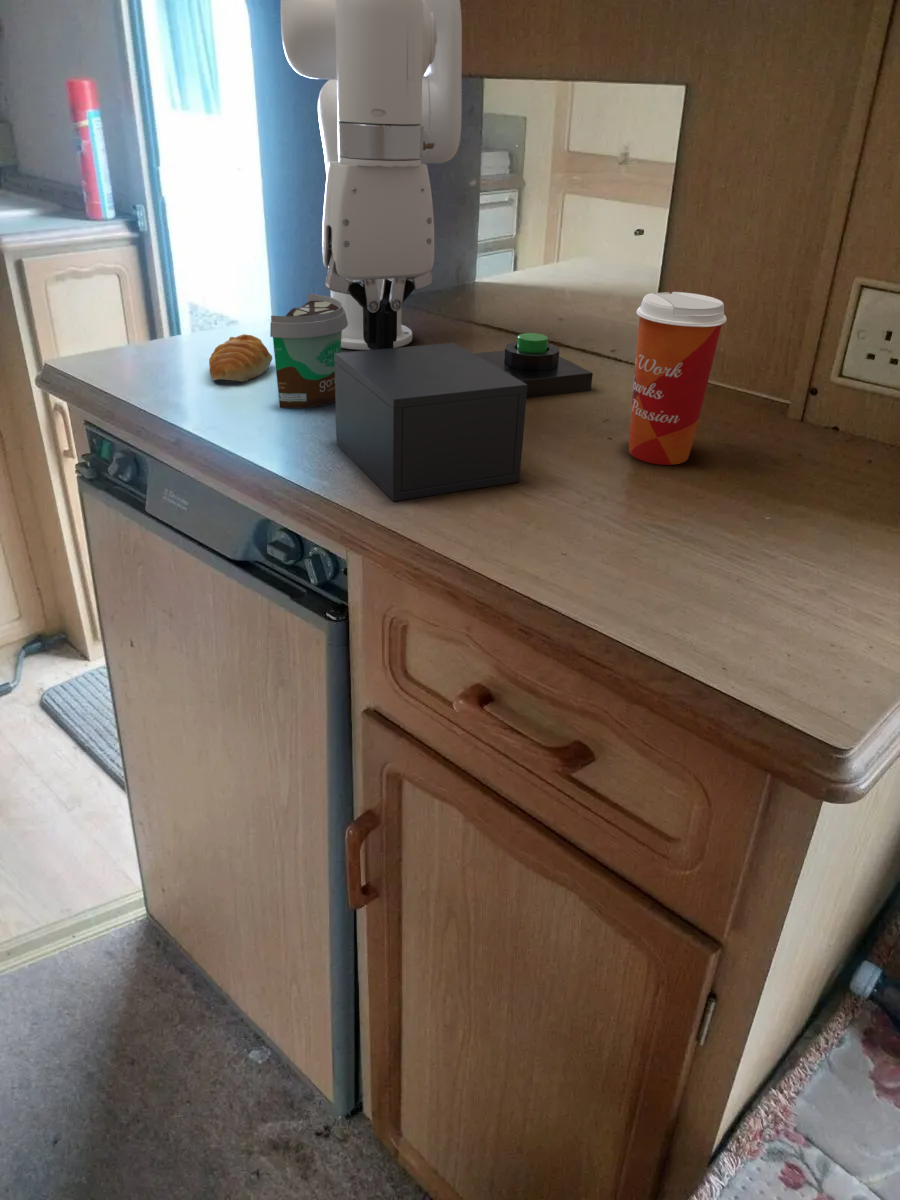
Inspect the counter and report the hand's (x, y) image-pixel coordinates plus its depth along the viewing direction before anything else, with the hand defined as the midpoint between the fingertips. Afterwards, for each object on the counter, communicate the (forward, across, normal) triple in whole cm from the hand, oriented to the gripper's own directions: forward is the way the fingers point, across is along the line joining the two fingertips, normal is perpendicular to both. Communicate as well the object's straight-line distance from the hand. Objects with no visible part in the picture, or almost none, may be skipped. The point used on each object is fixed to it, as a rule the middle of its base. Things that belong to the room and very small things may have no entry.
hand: (380, 349), depth 92 cm
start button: (+4, -23, -9) cm, 25 cm away
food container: (+8, +3, -11) cm, 14 cm away
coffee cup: (+8, -23, +17) cm, 30 cm away
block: (+8, -23, -9) cm, 26 cm away
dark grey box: (+8, 0, +11) cm, 14 cm away
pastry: (+8, +9, -23) cm, 26 cm away
